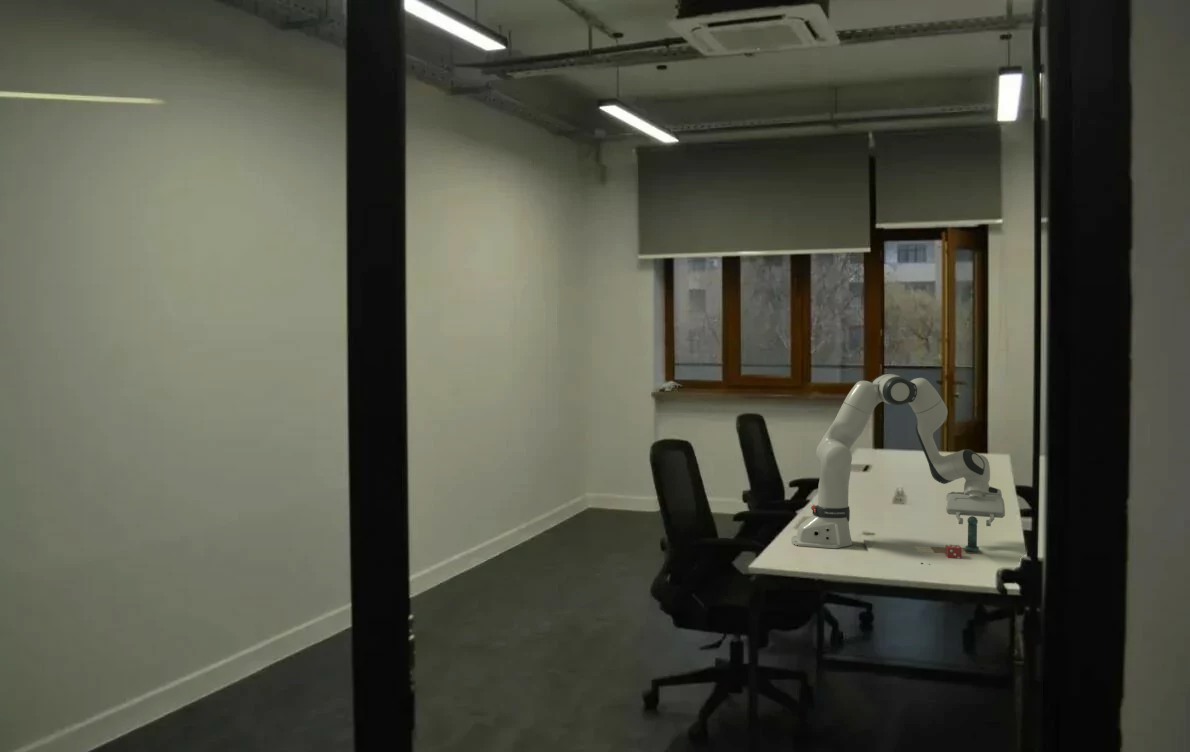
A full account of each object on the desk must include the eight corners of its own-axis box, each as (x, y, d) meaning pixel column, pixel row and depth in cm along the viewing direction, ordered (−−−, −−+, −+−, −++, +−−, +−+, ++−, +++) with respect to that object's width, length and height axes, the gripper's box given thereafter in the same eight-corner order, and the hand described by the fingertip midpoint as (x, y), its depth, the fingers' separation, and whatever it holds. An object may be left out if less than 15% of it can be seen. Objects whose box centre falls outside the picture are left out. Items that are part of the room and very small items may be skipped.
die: (948, 560, 334) (948, 547, 333) (945, 557, 338) (945, 544, 338) (961, 561, 333) (961, 548, 333) (958, 558, 337) (959, 545, 337)
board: (917, 555, 342) (917, 552, 342) (912, 548, 352) (912, 546, 352) (985, 557, 338) (985, 554, 338) (978, 550, 348) (978, 548, 348)
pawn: (967, 552, 342) (967, 517, 341) (964, 549, 346) (964, 515, 345) (980, 552, 341) (980, 517, 340) (977, 549, 345) (977, 515, 345)
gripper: (946, 486, 361) (943, 517, 353) (1005, 490, 352) (1004, 521, 344) (947, 496, 365) (944, 527, 357) (1005, 500, 357) (1004, 531, 348)
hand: (974, 524), depth 350 cm, fingers open, 8 cm apart
